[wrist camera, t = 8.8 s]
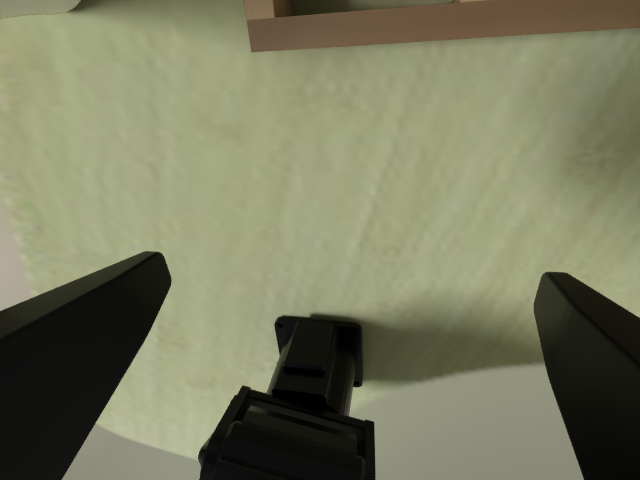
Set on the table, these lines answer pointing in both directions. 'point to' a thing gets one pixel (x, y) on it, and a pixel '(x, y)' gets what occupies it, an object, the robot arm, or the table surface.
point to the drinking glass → (35, 7)
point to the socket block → (431, 22)
